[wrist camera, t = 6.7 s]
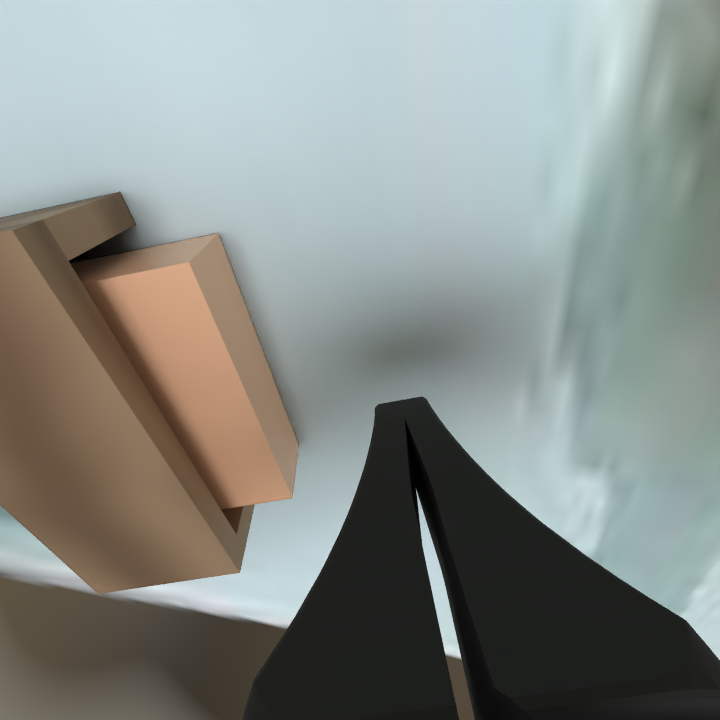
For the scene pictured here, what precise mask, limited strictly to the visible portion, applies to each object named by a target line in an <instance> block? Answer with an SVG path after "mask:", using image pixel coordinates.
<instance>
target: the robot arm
mask: <svg viewBox="0 0 720 720" xmlns="http://www.w3.org/2000/svg"><path fill="white" fill-rule="evenodd" d="M416 489H417V492H418V496H419V499H420V502H421V505H422V509H423V512H424V515H425V518H426V522H427V525H428V528H429V531H430V534H431V538H432V541H433V544H434V547H435V550H436V554H437V557H438V560H439V563H440V567H441V570H442V574H443V578H444V582H445V586H446V590H447V595H448V599H449V604H450V608H451V613H452V617H453V622H454V626H455V631H456V635H457V640H458V644H459V649H460V653H461V658H462V663H463V667H464V672H465V676H466V681H467V686H468V690H469V695H470V699H471V704H472V708H473V713H474V718H475V720H720V660H719V659H718V658H717V657H716V655H715V654H714V653H713V652H712V651H711V649H710V648H709V647H708V646H707V645H706V643H705V642H704V641H703V640H702V639H701V637H700V636H699V635H698V634H697V633H696V632H695V630H694V629H693V628H692V627H691V626H690V625H689V623H688V622H687V621H686V620H684V619H683V618H681V617H680V616H678V615H676V614H675V613H673V612H671V611H670V610H668V609H667V608H665V607H663V606H662V605H660V604H659V603H657V602H655V601H654V600H652V599H650V598H649V597H647V596H646V595H644V594H643V593H641V592H640V591H638V590H636V589H635V588H633V587H632V586H630V585H629V584H627V583H626V582H624V581H623V580H621V579H619V578H618V577H616V576H615V575H614V574H612V573H611V572H609V571H608V570H606V569H605V568H603V567H602V566H600V565H599V564H598V563H596V562H595V561H593V560H592V559H590V558H589V557H587V556H586V555H584V554H583V553H582V552H581V551H579V550H578V549H577V548H575V547H574V546H573V545H571V544H570V543H569V542H567V541H566V540H565V539H563V538H562V537H561V536H559V535H558V534H557V533H555V532H554V531H553V530H551V529H550V528H549V527H547V526H546V525H545V524H543V523H542V522H541V521H539V520H538V519H537V518H536V517H535V516H533V515H532V514H531V513H530V512H529V511H527V510H526V509H525V508H524V507H523V506H521V505H520V504H519V503H518V502H517V501H516V500H515V499H514V498H512V497H511V496H510V495H509V494H508V493H507V492H506V491H505V490H503V489H502V488H501V487H500V486H499V485H498V484H497V483H496V482H495V481H494V480H493V479H492V478H491V477H490V476H489V475H488V474H487V473H486V472H485V471H484V470H483V469H482V468H481V467H480V466H479V465H478V464H477V463H476V462H475V461H474V460H473V459H472V458H471V457H470V455H469V454H468V453H467V452H466V451H465V450H464V449H463V448H462V446H461V445H460V444H459V443H458V442H457V441H456V439H455V438H454V437H453V436H452V435H451V433H450V432H449V431H448V430H447V428H446V427H445V426H444V425H443V423H442V422H441V421H440V419H439V418H438V416H437V415H436V414H435V412H434V411H433V409H432V408H431V406H430V404H429V403H428V401H427V399H425V398H424V397H417V398H411V399H406V400H400V401H394V402H389V403H383V404H378V405H377V406H376V408H375V419H374V427H373V433H372V438H371V443H370V447H369V451H368V455H367V459H366V463H365V466H364V470H363V473H362V476H361V479H360V482H359V485H358V488H357V491H356V494H355V497H354V499H353V502H352V505H351V507H350V510H349V512H348V515H347V517H346V519H345V522H344V524H343V526H342V529H341V531H340V533H339V535H338V538H337V540H336V542H335V544H334V546H333V548H332V550H331V552H330V554H329V556H328V558H327V560H326V562H325V564H324V566H323V568H322V570H321V572H320V574H319V576H318V577H317V579H316V581H315V583H314V584H313V586H312V588H311V590H310V591H309V593H308V595H307V597H306V598H305V600H304V602H303V604H302V605H301V607H300V609H299V611H298V613H297V614H296V616H295V618H294V619H293V621H292V622H291V624H290V626H289V627H288V629H287V630H286V632H285V633H284V635H283V637H282V638H281V639H280V641H279V643H278V644H277V646H276V647H275V649H274V650H273V652H272V653H271V655H270V656H269V658H268V659H267V661H266V662H265V664H264V666H263V667H262V668H261V670H260V671H259V673H258V674H257V676H256V678H255V680H254V682H253V685H252V688H251V692H250V695H249V698H248V701H247V705H246V708H245V712H244V716H243V720H459V718H458V713H457V708H456V703H455V698H454V694H453V689H452V684H451V680H450V675H449V671H448V666H447V661H446V656H445V652H444V647H443V642H442V637H441V633H440V628H439V623H438V619H437V614H436V609H435V604H434V600H433V595H432V590H431V585H430V581H429V576H428V571H427V566H426V561H425V557H424V552H423V547H422V539H421V530H420V521H419V512H418V503H417V494H416Z"/></svg>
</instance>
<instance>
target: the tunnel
mask: <svg viewBox="0 0 720 720" xmlns="http://www.w3.org/2000/svg"><path fill="white" fill-rule="evenodd" d="M134 225H136V224H135V222H134V220H133V218H132V216H131V214H130V212H129V210H128V208H127V206H126V203H125V201H124V199H123V197H122V195H121V193H120V192H117V193H113V194H108V195H104V196H99V197H94V198H90V199H85V200H81V201H76V202H71V203H67V204H62V205H57V206H53V207H48V208H44V209H39V210H34V211H30V212H25V213H20V214H16V215H11V216H7V217H2V218H0V505H1V506H2V507H3V508H4V509H5V510H6V511H7V512H9V513H10V514H11V515H12V516H13V517H14V518H15V519H16V520H17V521H19V522H20V523H21V524H22V525H23V526H24V527H25V528H26V529H27V530H28V531H30V532H31V533H32V534H33V535H34V536H35V537H36V538H37V539H38V540H40V541H41V542H42V543H43V544H44V545H45V546H46V547H47V548H48V549H49V550H51V551H52V552H53V553H54V554H55V555H56V556H57V557H58V558H59V559H60V560H62V561H63V562H64V563H65V564H66V565H67V566H68V567H69V568H70V569H72V570H73V571H74V572H75V573H76V574H77V575H78V576H79V577H80V578H81V579H83V580H84V581H85V582H86V583H87V584H88V585H89V586H90V587H91V588H93V589H94V590H95V591H96V592H97V593H98V594H101V593H107V592H114V591H121V590H127V589H134V588H141V587H147V586H154V585H160V584H167V583H174V582H180V581H187V580H194V579H200V578H207V577H214V576H220V575H227V574H234V573H240V569H241V565H242V560H243V556H244V551H245V546H246V542H247V537H248V532H249V528H250V523H251V519H252V514H253V509H254V505H255V504H252V505H246V506H240V507H234V508H227V509H220V507H219V506H218V504H217V502H216V501H215V499H214V497H213V496H212V494H211V492H210V491H209V489H208V488H207V486H206V484H205V483H204V481H203V479H202V478H201V476H200V475H199V473H198V471H197V470H196V468H195V466H194V465H193V463H192V462H191V460H190V458H189V457H188V455H187V453H186V452H185V450H184V448H183V447H182V445H181V444H180V442H179V440H178V439H177V437H176V435H175V434H174V432H173V431H172V429H171V427H170V426H169V424H168V422H167V421H166V419H165V417H164V416H163V414H162V413H161V411H160V409H159V408H158V406H157V404H156V403H155V401H154V400H153V398H152V396H151V395H150V393H149V391H148V390H147V388H146V387H145V385H144V383H143V382H142V380H141V378H140V377H139V375H138V373H137V372H136V370H135V369H134V367H133V365H132V364H131V362H130V360H129V359H128V357H127V356H126V354H125V352H124V351H123V349H122V347H121V346H120V344H119V342H118V341H117V339H116V338H115V336H114V334H113V333H112V331H111V329H110V328H109V326H108V325H107V323H106V321H105V320H104V318H103V316H102V315H101V313H100V312H99V310H98V308H97V307H96V305H95V303H94V302H93V300H92V298H91V297H90V295H89V294H88V292H87V290H86V289H85V287H84V285H83V284H82V282H81V281H80V279H79V277H78V276H77V274H76V272H75V271H74V269H73V267H72V266H71V264H70V263H69V260H71V259H73V258H75V257H77V256H79V255H80V254H82V253H84V252H86V251H88V250H90V249H91V248H93V247H95V246H97V245H99V244H101V243H102V242H104V241H106V240H108V239H110V238H112V237H114V236H115V235H117V234H119V233H121V232H123V231H125V230H126V229H128V228H130V227H132V226H134Z"/></svg>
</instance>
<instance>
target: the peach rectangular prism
mask: <svg viewBox="0 0 720 720" xmlns="http://www.w3.org/2000/svg"><path fill="white" fill-rule="evenodd" d="M71 266H72V267H73V269H74V271H75V272H76V274H77V276H78V277H79V279H80V281H81V282H82V284H83V285H84V287H85V289H86V290H87V292H88V294H89V295H90V297H91V298H92V300H93V302H94V303H95V305H96V307H97V308H98V310H99V312H100V313H101V315H102V316H103V318H104V320H105V321H106V323H107V325H108V326H109V328H110V329H111V331H112V333H113V334H114V336H115V338H116V339H117V341H118V342H119V344H120V346H121V347H122V349H123V351H124V352H125V354H126V356H127V357H128V359H129V360H130V362H131V364H132V365H133V367H134V369H135V370H136V372H137V373H138V375H139V377H140V378H141V380H142V382H143V383H144V385H145V387H146V388H147V390H148V391H149V393H150V395H151V396H152V398H153V400H154V401H155V403H156V404H157V406H158V408H159V409H160V411H161V413H162V414H163V416H164V417H165V419H166V421H167V422H168V424H169V426H170V427H171V429H172V431H173V432H174V434H175V435H176V437H177V439H178V440H179V442H180V444H181V445H182V447H183V448H184V450H185V452H186V453H187V455H188V457H189V458H190V460H191V462H192V463H193V465H194V466H195V468H196V470H197V471H198V473H199V475H200V476H201V478H202V479H203V481H204V483H205V484H206V486H207V488H208V489H209V491H210V492H211V494H212V496H213V497H214V499H215V501H216V502H217V504H218V506H219V507H220V509H227V508H234V507H240V506H246V505H252V504H258V503H265V502H271V501H277V500H283V499H290V498H292V497H293V489H294V480H295V472H296V464H297V456H298V448H299V444H298V441H297V439H296V436H295V433H294V431H293V428H292V425H291V423H290V420H289V417H288V415H287V412H286V410H285V407H284V404H283V402H282V399H281V396H280V394H279V391H278V388H277V386H276V383H275V381H274V378H273V375H272V373H271V370H270V367H269V365H268V362H267V360H266V357H265V354H264V352H263V349H262V346H261V344H260V341H259V338H258V336H257V333H256V331H255V328H254V325H253V323H252V320H251V317H250V315H249V312H248V309H247V307H246V304H245V302H244V299H243V296H242V294H241V291H240V288H239V286H238V283H237V281H236V278H235V275H234V273H233V270H232V267H231V265H230V262H229V259H228V257H227V254H226V252H225V249H224V246H223V244H222V241H221V238H220V236H219V233H216V234H211V235H206V236H202V237H197V238H192V239H187V240H182V241H177V242H172V243H168V244H163V245H158V246H153V247H148V248H143V249H139V250H134V251H129V252H124V253H119V254H114V255H109V256H105V257H100V258H95V259H90V260H85V261H80V262H75V263H71Z"/></svg>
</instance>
